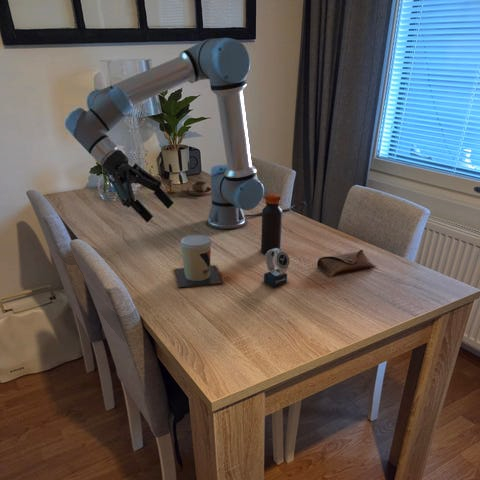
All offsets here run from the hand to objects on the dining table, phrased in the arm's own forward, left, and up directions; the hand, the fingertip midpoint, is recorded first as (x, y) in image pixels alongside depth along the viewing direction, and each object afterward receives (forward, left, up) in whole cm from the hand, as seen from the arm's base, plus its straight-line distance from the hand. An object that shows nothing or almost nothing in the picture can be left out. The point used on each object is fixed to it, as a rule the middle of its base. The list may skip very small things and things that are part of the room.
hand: (161, 212), depth 136 cm
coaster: (-9, +8, -19) cm, 23 cm away
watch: (-32, +17, -19) cm, 41 cm away
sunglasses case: (-58, +11, -19) cm, 62 cm away
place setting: (-19, -87, -19) cm, 91 cm away
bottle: (-37, -7, -19) cm, 42 cm away
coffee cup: (-9, +8, -19) cm, 22 cm away
